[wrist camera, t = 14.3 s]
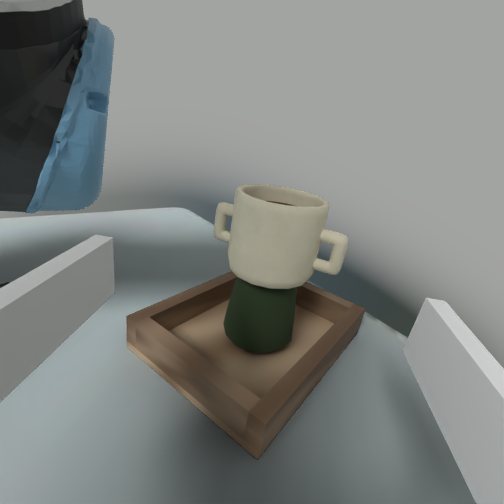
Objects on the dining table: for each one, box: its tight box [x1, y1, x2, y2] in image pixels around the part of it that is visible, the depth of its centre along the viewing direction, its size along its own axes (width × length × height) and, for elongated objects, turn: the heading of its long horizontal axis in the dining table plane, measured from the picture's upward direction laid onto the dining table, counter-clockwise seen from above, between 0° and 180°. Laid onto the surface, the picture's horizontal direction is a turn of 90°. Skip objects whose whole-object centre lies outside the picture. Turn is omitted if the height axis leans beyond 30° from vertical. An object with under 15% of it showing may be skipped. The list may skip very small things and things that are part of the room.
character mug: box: [214, 184, 348, 353], centre depth 26 cm, size 11×7×13 cm, turn 65°
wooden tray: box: [127, 271, 365, 460], centre depth 28 cm, size 13×17×3 cm
